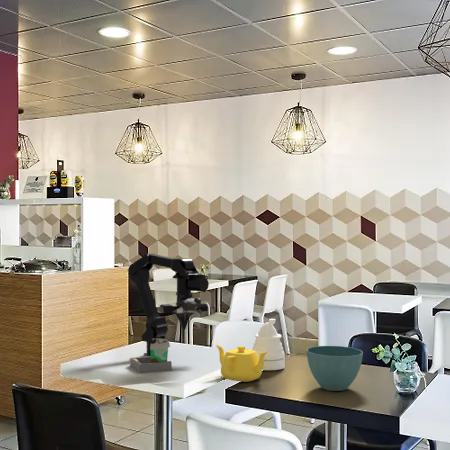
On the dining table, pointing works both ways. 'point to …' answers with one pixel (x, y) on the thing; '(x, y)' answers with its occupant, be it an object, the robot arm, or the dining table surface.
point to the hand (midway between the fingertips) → (183, 329)
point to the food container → (159, 350)
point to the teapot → (241, 364)
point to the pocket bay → (149, 364)
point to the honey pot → (270, 346)
